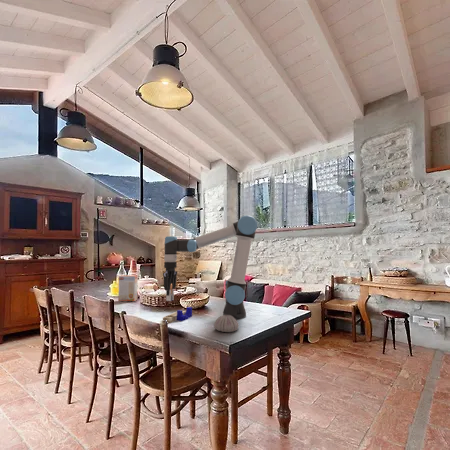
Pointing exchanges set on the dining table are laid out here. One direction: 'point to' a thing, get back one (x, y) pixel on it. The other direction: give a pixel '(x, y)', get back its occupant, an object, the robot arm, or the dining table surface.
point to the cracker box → (127, 288)
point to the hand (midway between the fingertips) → (169, 300)
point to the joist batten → (172, 317)
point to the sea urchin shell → (226, 323)
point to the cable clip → (184, 317)
